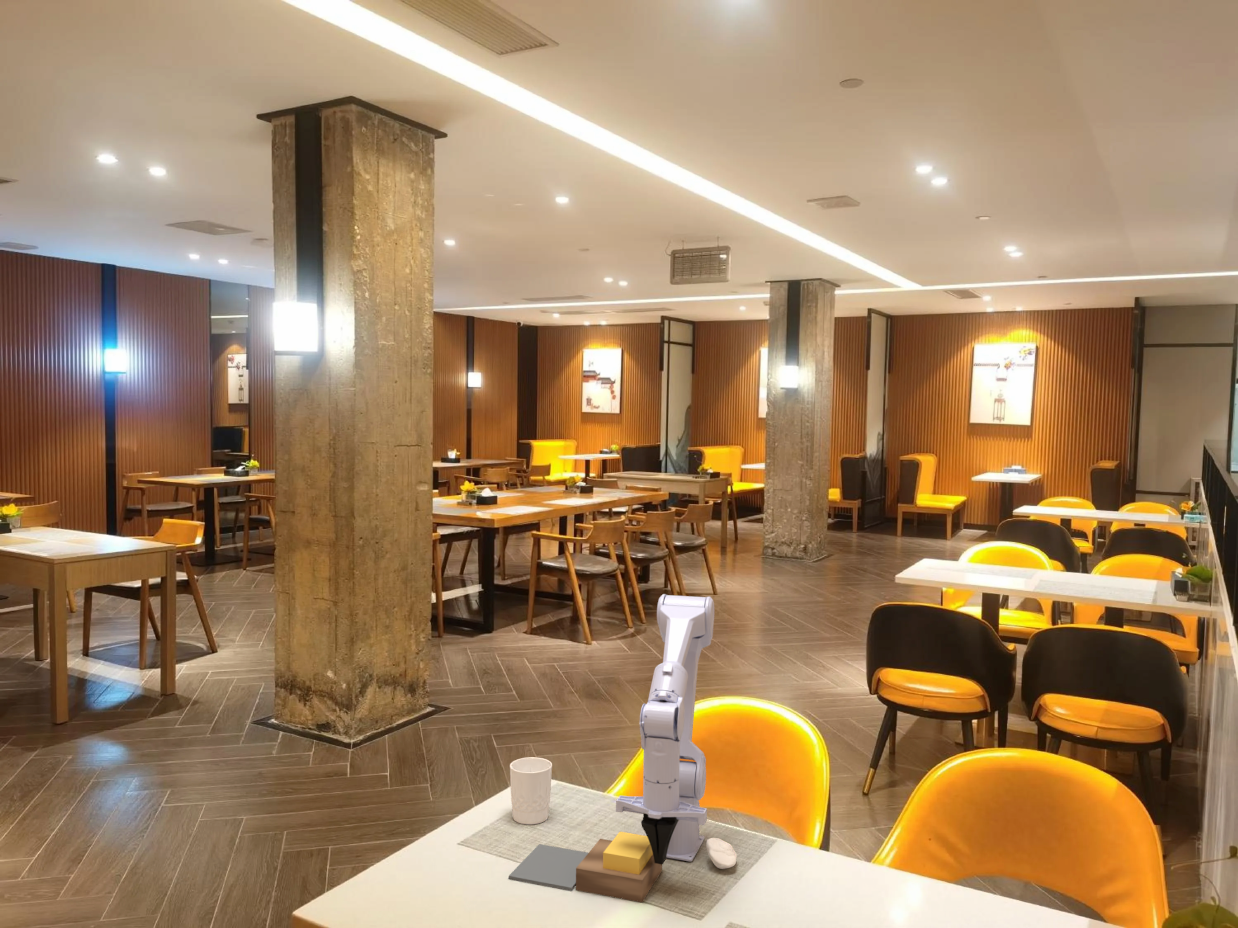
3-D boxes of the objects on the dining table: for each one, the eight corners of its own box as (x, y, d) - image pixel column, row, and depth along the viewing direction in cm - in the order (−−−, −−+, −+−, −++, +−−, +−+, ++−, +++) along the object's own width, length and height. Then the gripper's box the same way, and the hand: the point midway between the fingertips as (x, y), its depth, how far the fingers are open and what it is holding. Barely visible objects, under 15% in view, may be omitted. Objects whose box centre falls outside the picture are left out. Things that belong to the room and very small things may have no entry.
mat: (539, 846, 156) (539, 843, 156) (598, 856, 152) (598, 854, 152) (508, 878, 145) (508, 875, 145) (571, 890, 141) (571, 887, 141)
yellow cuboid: (619, 846, 149) (619, 831, 149) (654, 851, 147) (654, 836, 147) (603, 867, 141) (603, 852, 141) (639, 874, 139) (639, 858, 139)
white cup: (506, 810, 171) (506, 759, 170) (546, 806, 173) (546, 755, 173) (513, 828, 163) (514, 774, 163) (555, 823, 165) (556, 769, 165)
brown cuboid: (600, 858, 152) (600, 838, 152) (662, 869, 148) (662, 848, 148) (575, 889, 141) (576, 867, 141) (642, 902, 138) (642, 880, 138)
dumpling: (704, 855, 153) (704, 833, 153) (734, 856, 153) (735, 833, 153) (708, 875, 146) (708, 852, 146) (740, 876, 146) (740, 852, 146)
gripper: (609, 779, 141) (609, 864, 141) (699, 792, 136) (698, 880, 136) (624, 764, 147) (623, 845, 148) (710, 775, 143) (709, 859, 143)
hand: (660, 860), depth 142 cm, fingers closed
